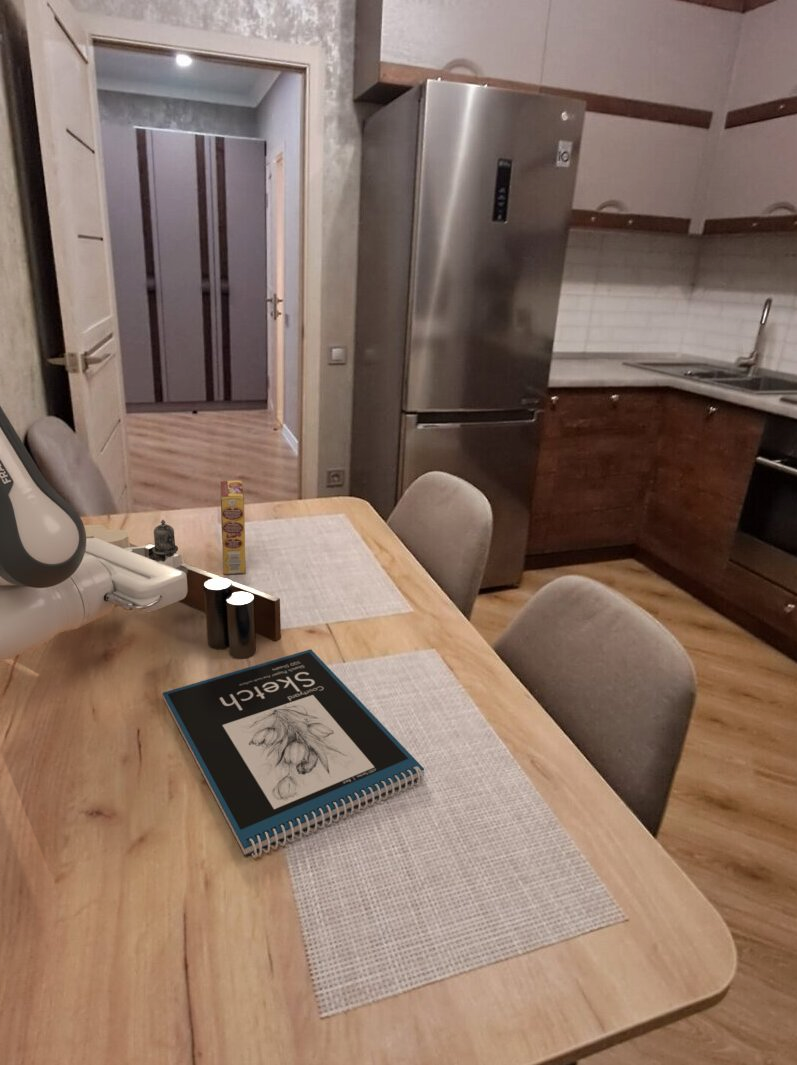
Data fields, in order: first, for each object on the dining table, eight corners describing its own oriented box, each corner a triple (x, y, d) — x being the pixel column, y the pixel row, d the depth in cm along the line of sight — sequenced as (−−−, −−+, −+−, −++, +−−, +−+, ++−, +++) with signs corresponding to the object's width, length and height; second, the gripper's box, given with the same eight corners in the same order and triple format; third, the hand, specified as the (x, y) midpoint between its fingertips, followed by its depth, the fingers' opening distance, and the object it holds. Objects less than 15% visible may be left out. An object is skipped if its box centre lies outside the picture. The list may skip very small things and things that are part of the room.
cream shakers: (74, 590, 113) (64, 528, 109) (101, 579, 118) (92, 519, 113) (116, 609, 108) (107, 544, 104) (142, 596, 113) (135, 534, 108)
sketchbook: (310, 656, 99) (310, 644, 98) (428, 785, 76) (429, 770, 75) (162, 700, 88) (161, 686, 87) (248, 866, 65) (247, 850, 64)
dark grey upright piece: (157, 606, 97) (150, 530, 92) (142, 590, 101) (134, 517, 96) (196, 596, 100) (190, 522, 96) (180, 581, 104) (174, 509, 100)
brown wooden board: (113, 575, 119) (108, 539, 117) (118, 572, 120) (114, 537, 118) (276, 641, 102) (274, 601, 99) (281, 638, 103) (280, 598, 100)
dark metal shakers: (202, 644, 100) (197, 585, 96) (221, 632, 103) (217, 575, 100) (243, 662, 96) (240, 601, 93) (262, 649, 100) (259, 590, 96)
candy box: (247, 574, 122) (244, 495, 116) (223, 575, 121) (218, 496, 115) (245, 553, 130) (242, 479, 124) (222, 555, 129) (218, 480, 123)
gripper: (133, 589, 81) (217, 552, 92) (32, 547, 90) (119, 517, 102) (138, 634, 84) (219, 592, 95) (39, 588, 93) (123, 555, 104)
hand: (166, 553), depth 98 cm, fingers closed on dark grey upright piece, 3 cm apart
